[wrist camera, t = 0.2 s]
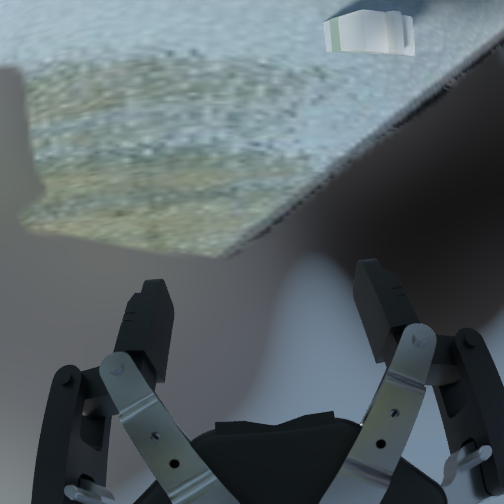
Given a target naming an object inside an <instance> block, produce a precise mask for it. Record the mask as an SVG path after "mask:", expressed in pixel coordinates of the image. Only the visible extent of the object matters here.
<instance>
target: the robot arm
mask: <svg viewBox="0 0 504 504" xmlns="http://www.w3.org/2000/svg"><path fill="white" fill-rule="evenodd" d="M353 296H354V301H355V304H356V307H357V309H358V312H359V315H360V318H361V320H362V323H363V326H364V329H365V332H366V335H367V338H368V340H369V343H370V346H371V349H372V352H373V355H374V358H375V361H376V363H381V362H385V364H386V367H387V368H386V370H385V373H384V375H383V377H382V380H381V382H380V384H379V386H378V389H377V391H376V393H375V395H374V397H373V400H372V401H371V404H370V406H369V408H368V409H367V411H366V413H365V415H364V417H363V419H362V421H361V423H360V424H357V423H355V422H353V421H350V420H347V419H342V418H335V417H334V412H333V411H330V412H323V413H316V414H310V415H304V416H301V417H299V418H296V419H293V420H290V421H287V422H285V423H282V424H279V425H266V424H260V423H253V422H247V421H234V422H215V429H213V430H210V431H207V432H205V433H203V434H201V435H199V436H198V437H196V438H195V439H193V440H192V441H191V440H190V439H189V438H188V436H187V435H186V434H185V433H184V431H183V430H182V429H181V427H180V426H179V425H178V424H177V422H176V421H175V420H174V418H173V417H172V415H171V414H170V413H169V411H168V410H167V408H166V407H165V406H164V404H163V403H162V401H161V400H160V398H159V397H158V395H157V394H156V393H155V386H156V383H165V376H166V369H167V361H168V354H169V347H170V341H171V334H172V328H173V322H174V307H173V303H172V301H171V298H170V295H169V292H168V290H167V287H166V284H165V281H164V280H163V279H153V280H146V281H144V284H143V287H142V291H141V293H135V294H134V295H133V296H132V298H131V299H130V300H129V301H128V303H127V306H126V310H125V314H124V316H123V320H122V321H123V322H122V323H121V326H120V330H119V333H118V337H117V341H116V344H115V348H114V352H113V353H111V354H110V355H108V356H106V357H105V358H104V360H103V361H102V363H101V365H100V366H99V367H96V368H92V369H88V370H85V371H80V370H79V368H77V367H76V366H74V365H66V366H63V367H62V368H60V369H59V370H58V371H57V372H56V374H55V375H54V378H53V381H52V385H51V389H50V393H49V397H48V401H47V406H46V410H45V414H44V419H43V424H42V429H41V434H40V439H39V445H38V451H37V457H36V465H35V472H34V481H33V490H32V501H31V504H116V501H115V498H114V496H113V494H112V493H111V492H110V491H109V490H108V489H107V488H106V473H107V458H108V447H109V436H110V427H111V419H112V415H116V414H120V417H119V419H120V421H121V423H122V425H123V427H124V429H125V430H126V432H127V433H128V435H129V437H130V439H131V440H132V442H133V444H134V445H135V447H136V449H137V450H138V452H139V453H140V455H141V457H142V458H143V460H144V461H145V463H146V464H147V466H148V468H149V469H150V470H151V472H152V473H153V475H154V476H155V478H156V480H155V481H154V483H152V484H151V486H150V487H149V488H148V489H147V490H146V491H145V492H144V493H143V494H142V495H141V496H140V497H139V498H138V499H137V500H136V501H135V502H134V503H133V504H477V503H480V502H483V501H486V500H489V499H491V498H495V497H497V496H499V495H502V494H504V386H503V384H502V381H501V378H500V376H499V374H498V371H497V369H496V366H495V364H494V362H493V360H492V357H491V355H490V353H489V350H488V348H487V346H486V344H485V342H484V340H483V338H482V336H481V335H480V334H479V333H478V332H477V331H476V330H474V329H471V328H463V329H460V330H459V331H458V332H457V333H456V335H455V336H444V335H436V334H435V333H434V332H433V330H432V329H431V328H429V327H428V326H426V325H424V324H421V323H420V321H419V319H418V317H417V315H416V313H415V311H414V309H413V307H412V305H411V303H410V301H409V299H408V297H407V296H406V293H405V291H404V289H403V288H402V285H401V284H400V281H399V280H398V278H397V277H396V276H395V275H394V274H393V273H392V272H391V271H390V270H382V268H381V266H380V264H379V262H378V261H377V259H368V260H360V261H358V263H357V268H356V274H355V280H354V286H353ZM424 385H432V387H433V390H434V393H435V396H436V400H437V403H438V407H439V410H440V414H441V418H442V421H443V425H444V429H445V433H446V437H447V441H448V445H449V450H450V454H451V455H450V456H449V457H448V459H447V460H446V462H445V465H444V478H443V482H442V484H441V485H439V484H438V483H437V482H435V481H434V480H433V479H431V478H430V477H428V476H427V475H426V474H424V473H423V472H422V471H420V470H419V469H418V468H416V467H414V465H412V464H411V463H409V462H408V461H407V460H405V459H404V458H403V457H401V455H402V452H403V450H404V448H405V446H406V443H407V441H408V438H409V436H410V434H411V431H412V428H413V426H414V423H415V421H416V418H417V415H418V413H419V410H420V407H421V404H422V401H423V399H424V396H425V392H426V387H424Z"/></svg>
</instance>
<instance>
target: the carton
mask: <svg viewBox="0 0 504 504" xmlns="http://www.w3.org/2000/svg"><path fill="white" fill-rule="evenodd" d="M323 23H324V33H325V43H326V52H350V53H369V54H395V55H407V56H415V46H414V32H413V20H412V17H411V16H406V15H401V12H400V11H394V10H392V11H387V12H381V11H373V10H365V9H362V10H358V11H355V12H352V13H349V14H345V15H342V16H339V17H335V18H332V19H329V20H328V21H325V22H323Z"/></svg>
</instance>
